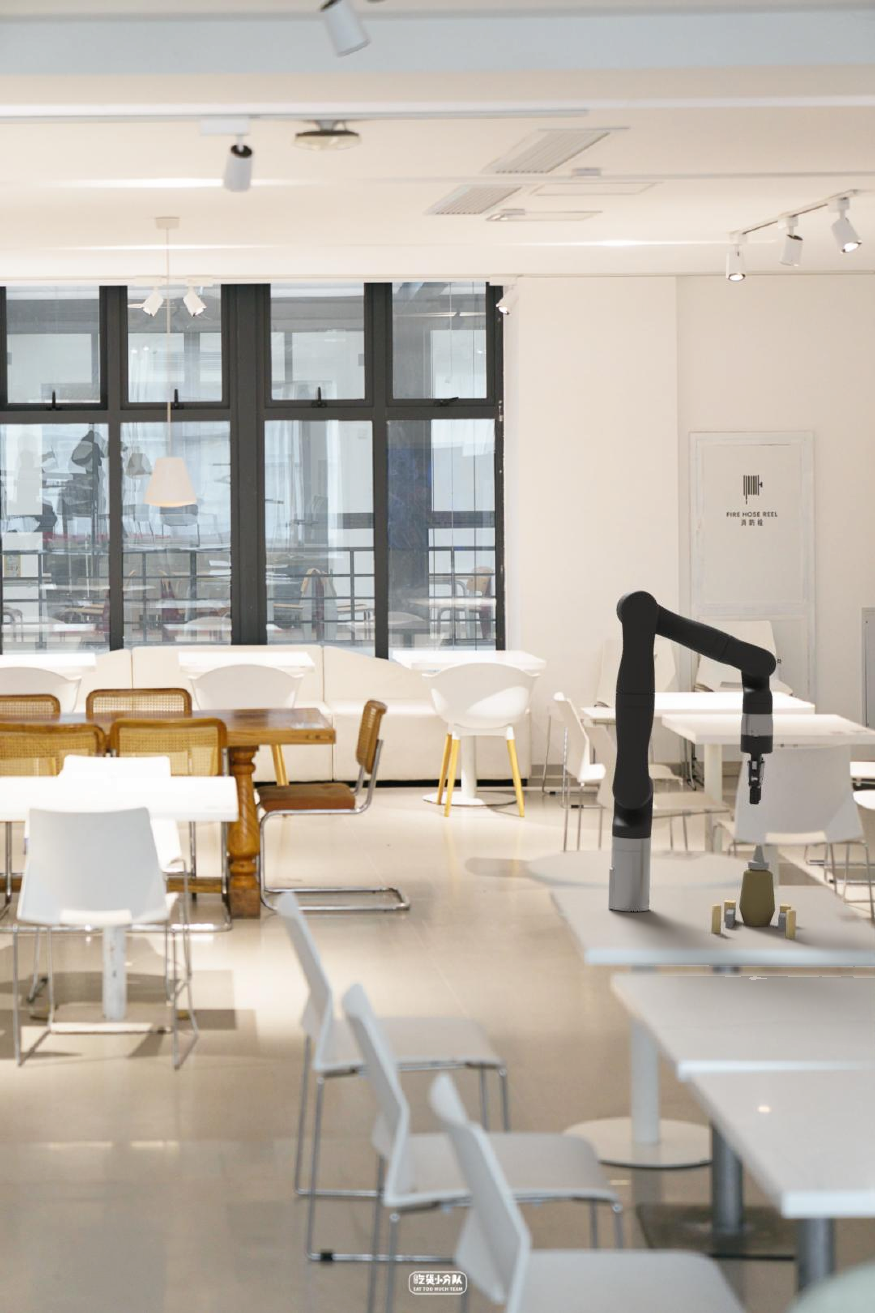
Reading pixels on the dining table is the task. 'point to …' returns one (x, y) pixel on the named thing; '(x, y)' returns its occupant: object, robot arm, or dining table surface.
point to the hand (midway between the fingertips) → (755, 802)
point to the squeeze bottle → (757, 892)
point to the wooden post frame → (784, 920)
